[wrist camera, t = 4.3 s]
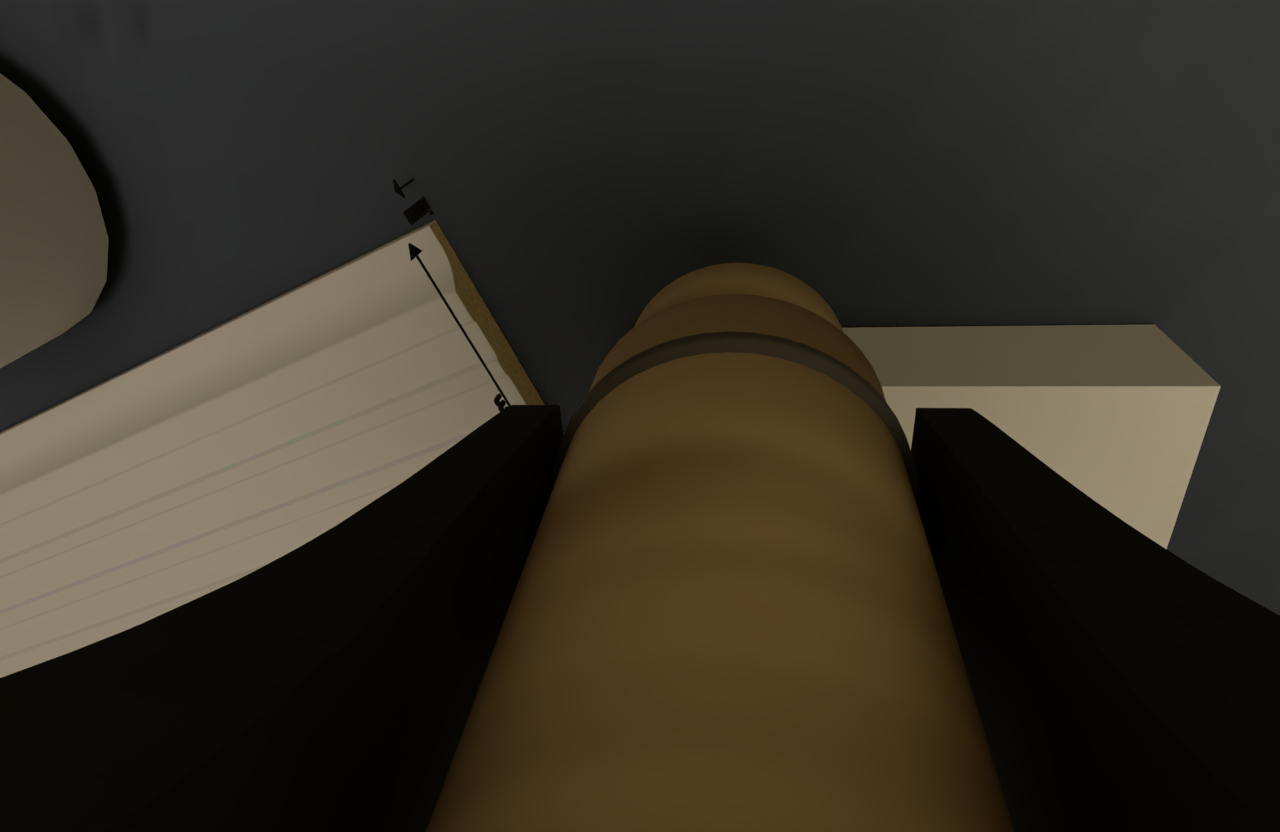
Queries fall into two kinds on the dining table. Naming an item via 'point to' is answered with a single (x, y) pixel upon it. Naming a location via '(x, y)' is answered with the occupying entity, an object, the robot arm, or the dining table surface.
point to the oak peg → (728, 599)
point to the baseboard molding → (242, 443)
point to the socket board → (1064, 402)
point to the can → (44, 230)
